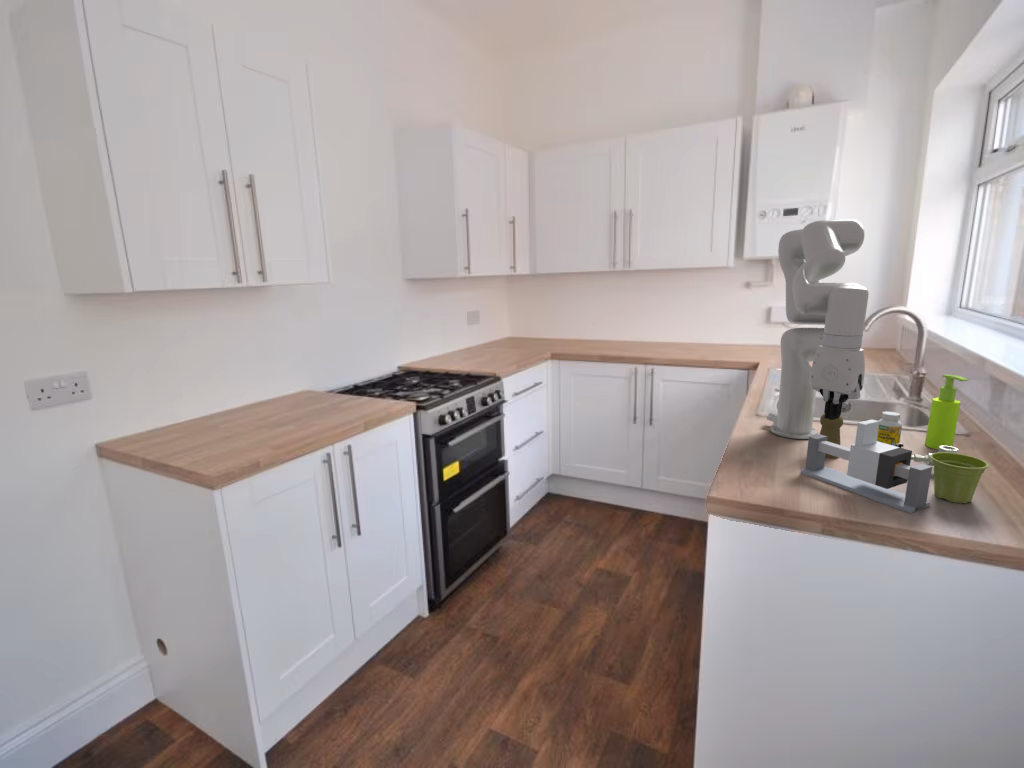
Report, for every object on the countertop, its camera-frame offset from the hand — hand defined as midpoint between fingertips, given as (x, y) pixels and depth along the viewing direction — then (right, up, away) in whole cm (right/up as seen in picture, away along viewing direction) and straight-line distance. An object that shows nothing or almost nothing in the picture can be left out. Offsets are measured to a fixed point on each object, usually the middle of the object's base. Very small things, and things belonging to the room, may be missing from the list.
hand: (831, 418), depth 121 cm
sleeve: (+4, -13, -7) cm, 15 cm away
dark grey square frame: (+6, -13, -11) cm, 18 cm away
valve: (+25, -13, +4) cm, 28 cm away
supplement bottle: (+28, -9, +20) cm, 36 cm away
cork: (+9, -11, +16) cm, 21 cm away
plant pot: (+20, -17, -10) cm, 28 cm away
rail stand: (+4, -15, -5) cm, 17 cm away
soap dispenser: (+42, -9, +19) cm, 47 cm away
